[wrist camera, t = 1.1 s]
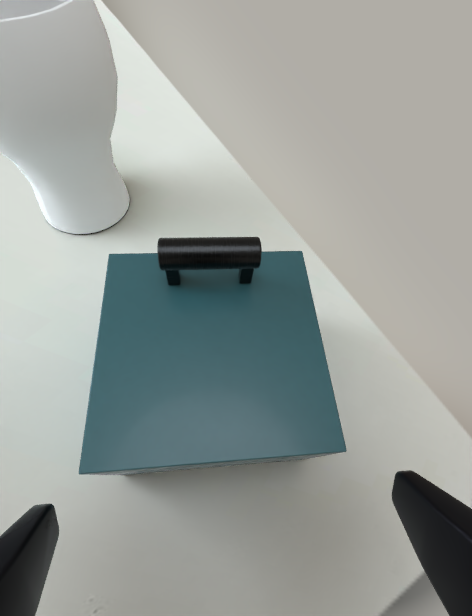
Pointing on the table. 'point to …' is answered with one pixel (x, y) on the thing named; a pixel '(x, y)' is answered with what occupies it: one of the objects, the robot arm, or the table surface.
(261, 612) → the table surface
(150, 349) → the box lid
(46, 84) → the white vase
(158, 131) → the table surface
